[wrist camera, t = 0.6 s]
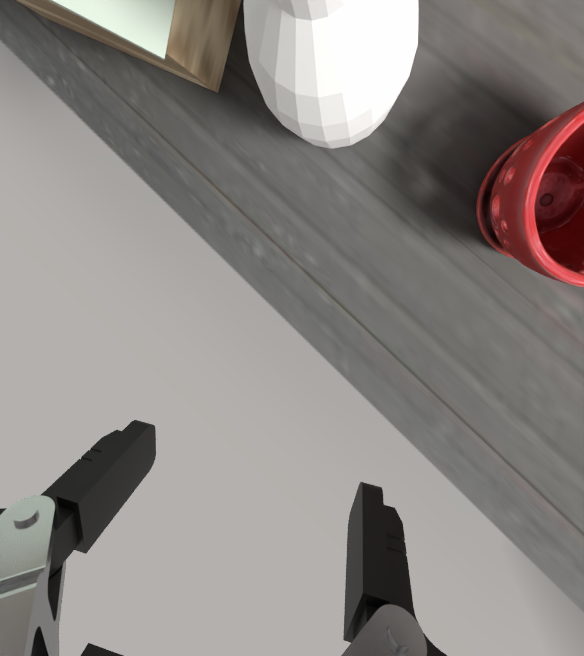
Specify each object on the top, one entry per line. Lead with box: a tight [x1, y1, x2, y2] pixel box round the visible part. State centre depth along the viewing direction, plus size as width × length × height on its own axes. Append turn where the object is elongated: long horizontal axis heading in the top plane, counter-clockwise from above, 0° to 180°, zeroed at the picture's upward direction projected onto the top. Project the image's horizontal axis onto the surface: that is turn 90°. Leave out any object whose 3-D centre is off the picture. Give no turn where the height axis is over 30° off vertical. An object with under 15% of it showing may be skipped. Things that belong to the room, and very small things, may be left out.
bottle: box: [243, 0, 418, 149], centre depth 21 cm, size 11×11×25 cm
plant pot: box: [476, 102, 584, 287], centre depth 27 cm, size 13×13×12 cm
